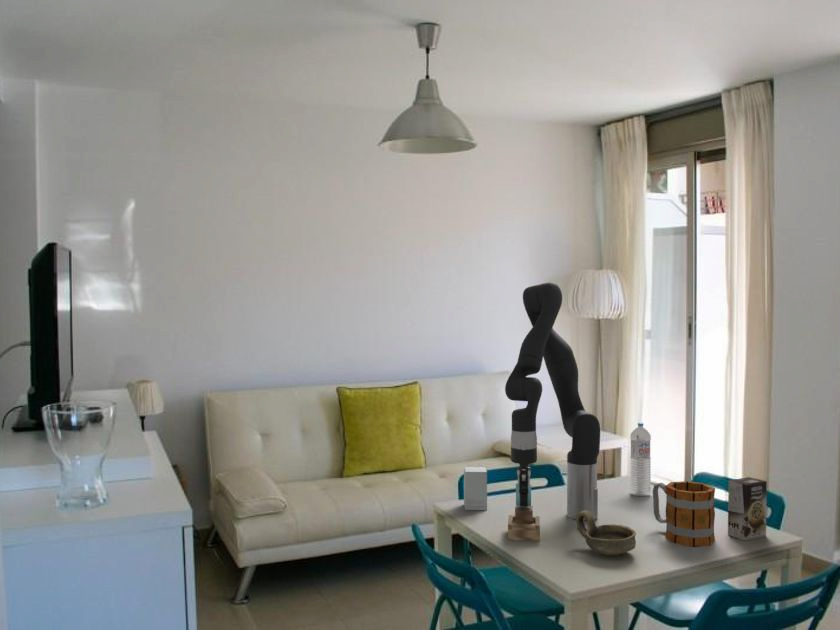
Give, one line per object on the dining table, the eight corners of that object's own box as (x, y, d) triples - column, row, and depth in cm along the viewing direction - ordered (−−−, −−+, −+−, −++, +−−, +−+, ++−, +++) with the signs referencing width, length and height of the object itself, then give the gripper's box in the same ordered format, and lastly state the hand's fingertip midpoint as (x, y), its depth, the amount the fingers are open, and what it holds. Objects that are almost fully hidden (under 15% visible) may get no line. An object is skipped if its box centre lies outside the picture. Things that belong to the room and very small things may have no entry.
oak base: (539, 531, 223) (539, 516, 223) (539, 540, 214) (539, 525, 214) (508, 529, 224) (508, 515, 224) (508, 539, 215) (507, 524, 215)
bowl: (620, 566, 194) (620, 528, 194) (563, 550, 207) (563, 514, 206) (647, 553, 204) (647, 516, 204) (591, 538, 216) (591, 504, 216)
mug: (725, 541, 213) (725, 488, 213) (695, 550, 206) (695, 495, 205) (668, 523, 230) (668, 474, 229) (638, 531, 222) (638, 481, 222)
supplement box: (487, 510, 244) (487, 471, 244) (464, 510, 245) (464, 471, 244) (485, 504, 252) (485, 466, 251) (463, 504, 252) (463, 466, 252)
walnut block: (532, 522, 221) (532, 505, 221) (532, 528, 216) (532, 510, 216) (515, 522, 222) (515, 505, 222) (515, 527, 217) (515, 510, 217)
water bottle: (631, 496, 260) (631, 424, 259) (629, 491, 267) (629, 421, 266) (651, 497, 259) (652, 425, 258) (649, 492, 266) (649, 421, 265)
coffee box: (745, 541, 213) (746, 484, 213) (726, 534, 219) (727, 479, 218) (767, 536, 217) (767, 480, 217) (748, 530, 223) (748, 476, 223)
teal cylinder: (531, 503, 221) (531, 482, 221) (531, 507, 217) (531, 486, 216) (516, 502, 222) (515, 482, 221) (515, 506, 217) (515, 486, 217)
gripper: (511, 440, 226) (511, 497, 227) (510, 450, 212) (510, 510, 212) (536, 440, 225) (536, 497, 225) (537, 450, 211) (537, 511, 211)
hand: (523, 503), depth 219 cm, fingers closed on teal cylinder, 4 cm apart
